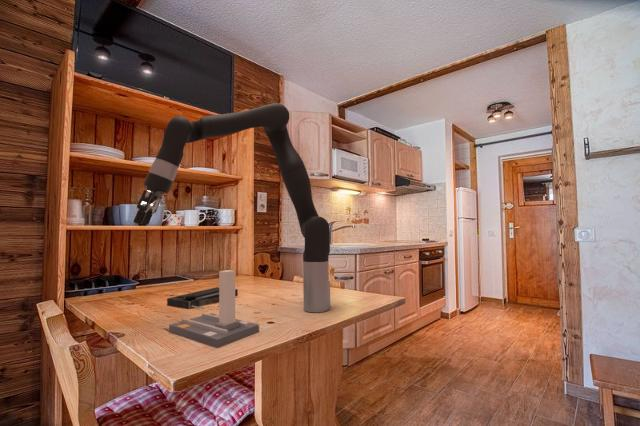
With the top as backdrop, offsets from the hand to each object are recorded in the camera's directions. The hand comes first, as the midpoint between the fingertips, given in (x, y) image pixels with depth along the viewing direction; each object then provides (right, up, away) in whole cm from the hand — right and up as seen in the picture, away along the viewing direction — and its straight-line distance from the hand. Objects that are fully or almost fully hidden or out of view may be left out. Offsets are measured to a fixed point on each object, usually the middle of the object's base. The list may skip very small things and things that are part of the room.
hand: (140, 223), depth 96 cm
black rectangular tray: (+11, -33, +30) cm, 46 cm away
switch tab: (+31, -28, -12) cm, 43 cm away
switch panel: (+26, -31, -8) cm, 41 cm away
